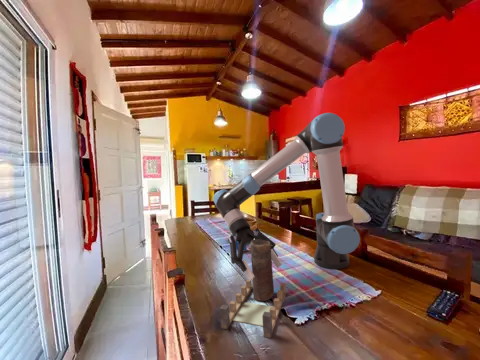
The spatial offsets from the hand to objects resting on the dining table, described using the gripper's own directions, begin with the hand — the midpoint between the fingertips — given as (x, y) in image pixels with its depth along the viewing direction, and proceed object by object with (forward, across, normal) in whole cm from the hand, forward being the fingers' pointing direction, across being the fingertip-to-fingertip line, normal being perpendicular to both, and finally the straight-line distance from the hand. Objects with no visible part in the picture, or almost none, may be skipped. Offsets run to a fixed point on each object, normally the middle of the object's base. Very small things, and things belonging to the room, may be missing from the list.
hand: (266, 272), depth 84 cm
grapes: (-23, -22, -37) cm, 49 cm away
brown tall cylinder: (+5, 0, -9) cm, 10 cm away
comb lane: (+8, +6, -6) cm, 12 cm away
